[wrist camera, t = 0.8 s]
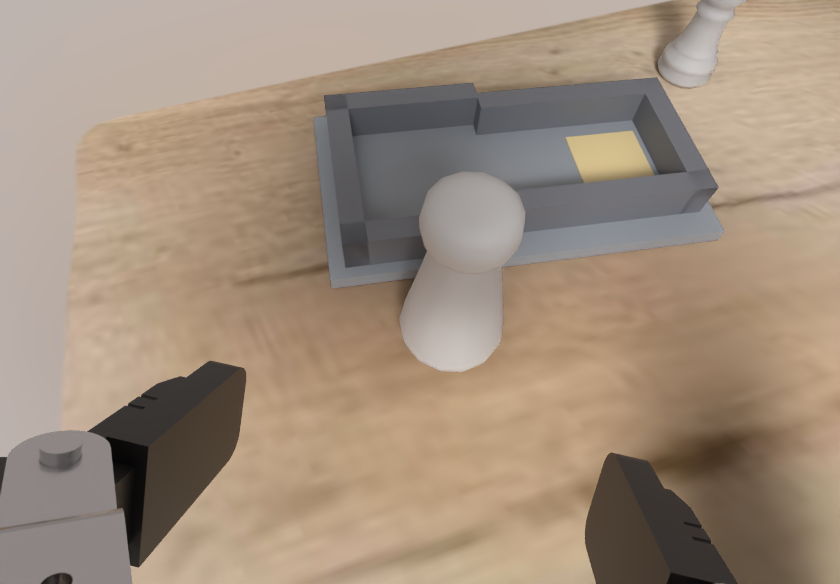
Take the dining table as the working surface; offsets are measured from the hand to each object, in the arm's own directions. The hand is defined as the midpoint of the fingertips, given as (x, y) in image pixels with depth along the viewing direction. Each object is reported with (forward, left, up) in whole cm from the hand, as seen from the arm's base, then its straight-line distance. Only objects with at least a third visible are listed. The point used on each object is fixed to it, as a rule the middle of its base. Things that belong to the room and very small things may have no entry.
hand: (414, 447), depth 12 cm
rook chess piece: (-28, -31, -18) cm, 46 cm away
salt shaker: (-4, -10, -18) cm, 21 cm away
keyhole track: (-11, -22, -18) cm, 30 cm away
